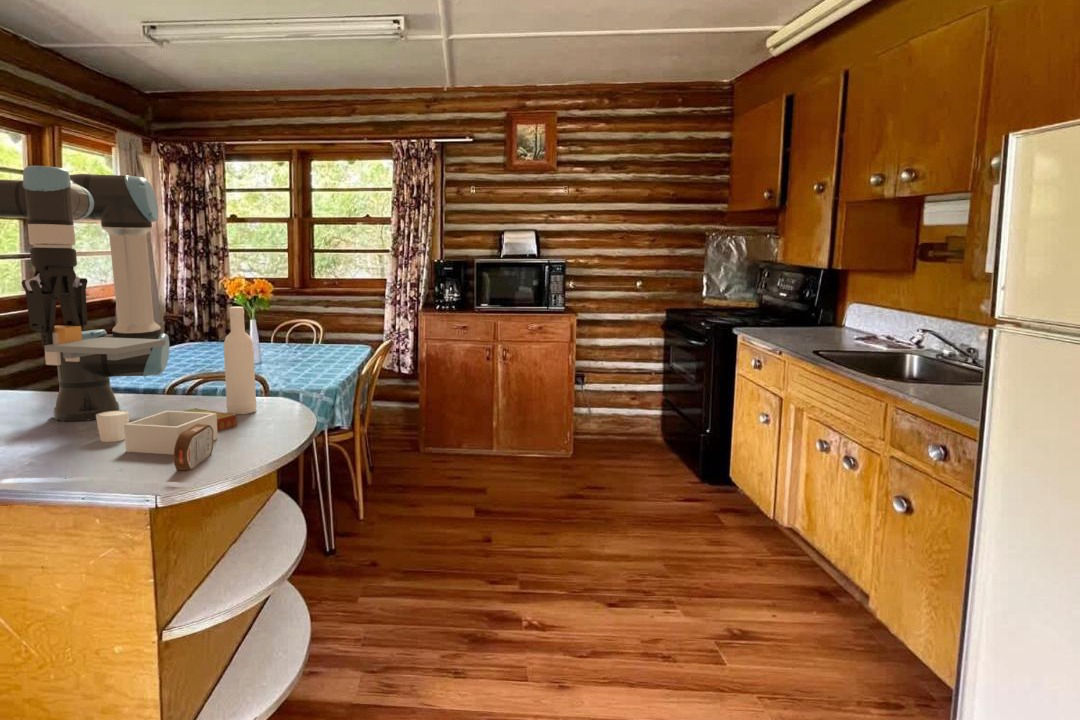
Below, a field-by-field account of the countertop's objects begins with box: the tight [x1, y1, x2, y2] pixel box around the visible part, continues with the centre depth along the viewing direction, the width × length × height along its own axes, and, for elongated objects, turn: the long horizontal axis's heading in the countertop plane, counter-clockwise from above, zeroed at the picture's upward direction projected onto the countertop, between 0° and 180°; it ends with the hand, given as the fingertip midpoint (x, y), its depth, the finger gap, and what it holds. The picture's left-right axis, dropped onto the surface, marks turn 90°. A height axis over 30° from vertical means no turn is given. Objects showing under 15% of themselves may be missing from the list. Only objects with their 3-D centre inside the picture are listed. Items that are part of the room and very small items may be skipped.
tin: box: [173, 424, 214, 471], centre depth 146 cm, size 15×3×8 cm, turn 5°
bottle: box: [223, 306, 257, 415], centre depth 194 cm, size 8×8×30 cm
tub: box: [124, 410, 219, 456], centre depth 159 cm, size 13×14×7 cm
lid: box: [44, 325, 165, 360], centre depth 138 cm, size 14×20×6 cm
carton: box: [182, 407, 238, 432], centre depth 177 cm, size 8×16×4 cm, turn 63°
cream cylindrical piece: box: [95, 410, 130, 443], centre depth 163 cm, size 7×7×7 cm
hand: (63, 362), depth 140 cm, fingers closed on lid, 4 cm apart
